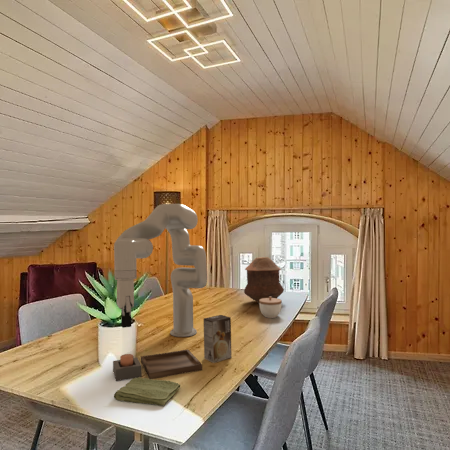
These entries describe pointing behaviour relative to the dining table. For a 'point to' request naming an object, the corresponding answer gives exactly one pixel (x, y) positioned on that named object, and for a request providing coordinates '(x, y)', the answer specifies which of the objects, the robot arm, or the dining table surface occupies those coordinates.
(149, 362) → the tray
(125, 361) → the button cap
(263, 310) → the lidded bowl
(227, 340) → the coffee box
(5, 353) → the dining table surface
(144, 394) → the washcloth
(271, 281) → the pottery vessel
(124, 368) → the button housing
